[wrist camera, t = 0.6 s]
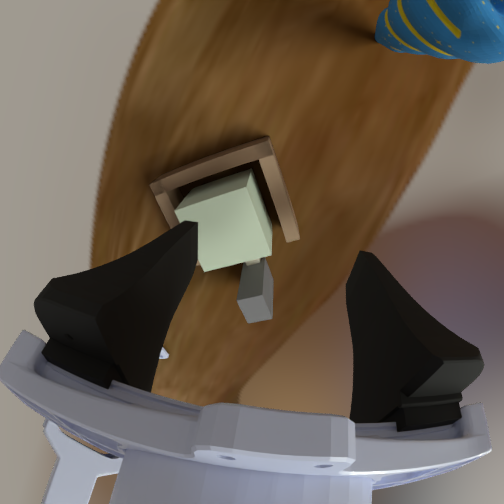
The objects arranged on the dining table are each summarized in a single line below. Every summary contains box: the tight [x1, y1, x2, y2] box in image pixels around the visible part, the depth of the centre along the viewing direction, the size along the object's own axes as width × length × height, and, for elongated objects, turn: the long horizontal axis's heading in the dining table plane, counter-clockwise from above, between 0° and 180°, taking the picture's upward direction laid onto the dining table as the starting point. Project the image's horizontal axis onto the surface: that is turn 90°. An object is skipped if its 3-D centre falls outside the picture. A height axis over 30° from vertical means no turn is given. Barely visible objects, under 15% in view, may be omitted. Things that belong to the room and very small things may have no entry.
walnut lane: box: [149, 136, 300, 266], centre depth 21 cm, size 8×9×2 cm
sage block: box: [174, 169, 273, 323], centre depth 21 cm, size 10×5×5 cm, turn 19°
